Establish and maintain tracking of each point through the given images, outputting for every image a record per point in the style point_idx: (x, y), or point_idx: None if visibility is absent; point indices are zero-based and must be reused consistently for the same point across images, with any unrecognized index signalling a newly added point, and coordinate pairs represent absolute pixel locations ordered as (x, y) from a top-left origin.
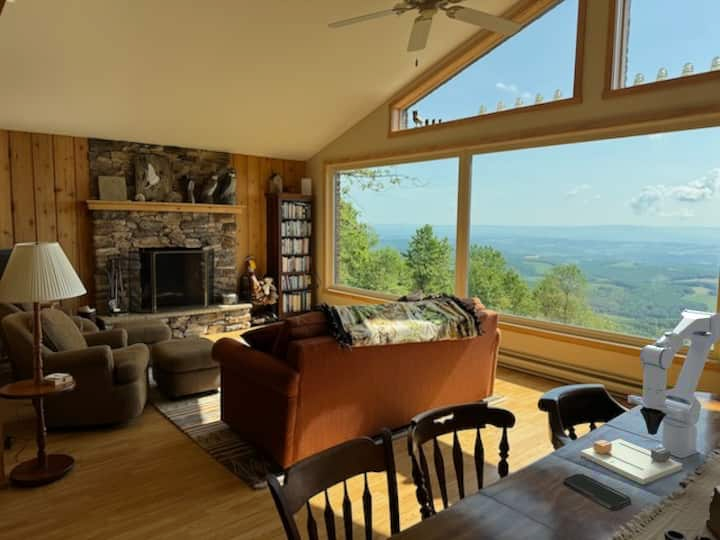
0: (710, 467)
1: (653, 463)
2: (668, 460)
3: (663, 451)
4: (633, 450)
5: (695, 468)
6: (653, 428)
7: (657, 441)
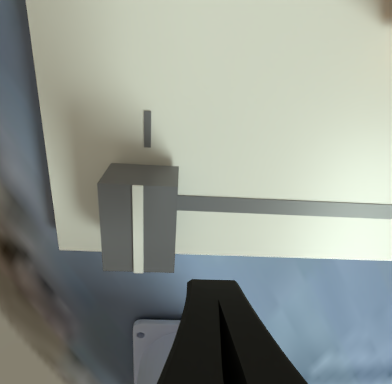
0: (33, 338)
1: (135, 120)
2: None
3: (116, 229)
4: (297, 189)
5: (50, 286)
6: (176, 338)
7: None
